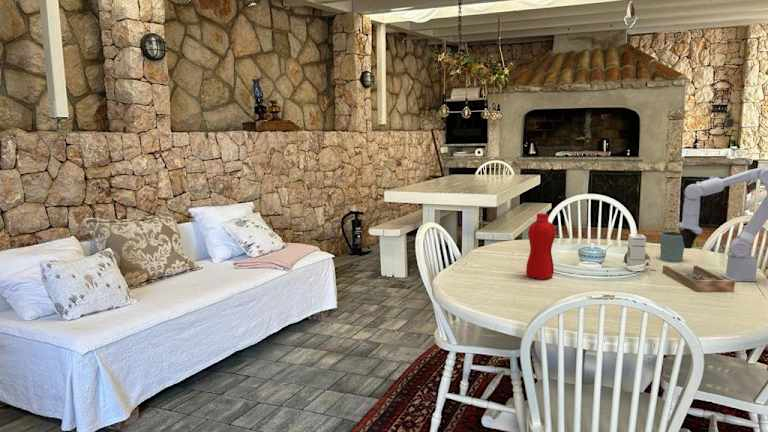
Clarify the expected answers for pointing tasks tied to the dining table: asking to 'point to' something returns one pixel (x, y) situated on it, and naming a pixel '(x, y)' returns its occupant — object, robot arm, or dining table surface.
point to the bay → (701, 285)
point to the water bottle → (540, 248)
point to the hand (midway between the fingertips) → (687, 248)
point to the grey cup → (671, 246)
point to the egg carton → (698, 277)
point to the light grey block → (645, 257)
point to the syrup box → (636, 249)
